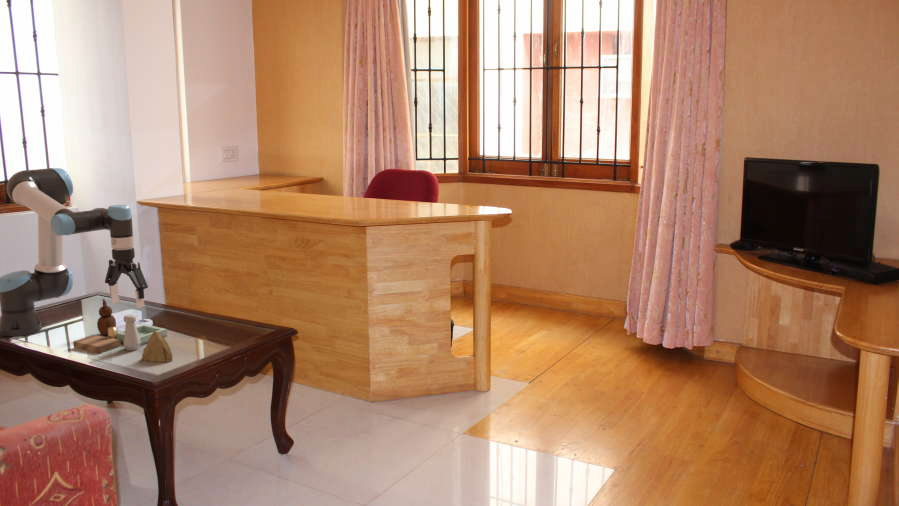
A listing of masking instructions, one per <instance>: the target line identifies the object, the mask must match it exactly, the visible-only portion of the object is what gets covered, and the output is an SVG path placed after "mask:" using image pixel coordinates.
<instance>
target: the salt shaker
mask: <svg viewBox="0 0 899 506" xmlns="http://www.w3.org/2000/svg"><path fill="white" fill-rule="evenodd" d="M123 321H124V323H125V328H124V330H125V335H124V342H123V346H124V347H125V350H126V351H137V350H138V349H139V348H140V343H141V341H140V338H139V334H138V331H137V325H136V321H137V316H136V315H135V314H134V313H133V314H130V313H129V314H125V315H124V317H123Z"/></svg>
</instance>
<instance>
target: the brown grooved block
mask: <svg viewBox="0 0 899 506" xmlns="http://www.w3.org/2000/svg"><path fill="white" fill-rule="evenodd" d="M121 345H122V342H120V340H118V339H113V338H108V336H103V335H96V334H92V335H89V336H86V337H83V338H80V339H77V340H74V341H73V349H75V348H76V349H75V350H81V351H86V352H92V353H96V354H103V353H107V352H109V351H112V350H114V349H117V348H119V347H122V346H121Z"/></svg>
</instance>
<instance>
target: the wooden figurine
mask: <svg viewBox="0 0 899 506" xmlns="http://www.w3.org/2000/svg"><path fill="white" fill-rule="evenodd" d="M98 314H99V315H98V316H100V317H99V318H98V319H97V323H96V325H97V326H96V327H97V330H98V332H99V333H100V336H103V337H108V328H109V327H116V328H117V322H116V321H117V319H115V318H116V317H115V316H114V315H112V314H113V310H112V307H111V306H108V304H107V301H106V299H105V298H102V306H100V308H99V309H98Z"/></svg>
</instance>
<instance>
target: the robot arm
mask: <svg viewBox="0 0 899 506" xmlns="http://www.w3.org/2000/svg"><path fill="white" fill-rule="evenodd" d="M6 192H7V195H8V197H9V199H10V200H12V202H14V203H16V204H17V205H19V206H23V207H26V208H28V209H29V210H31V211H32V212H34V213H35V214H37V230H38V231H37V237H38V239H37V240H38V241H37V242H38V243H37V244H38V246H37V247H38V252H37V253H38V263H36V264H35V265H34V271H33V272H31V271H29V270H16V271H11V272H9V273H8V272H7V273H6V274H3V275H1V276H0V313H1V314H0V336H3V337H18V336H19V337H20V336H26V335H30V334H33V333H34V334H35V333H37V332H39V331H41V330H42V329H43V327H42V321H41V320H40V317H39V315H38V314H37V311H36V309H35V303H37V302H41V301H47V300H52V299H57V298H60V297H64V296H67V295H68V294H69V293H70V292H71V291H72V288H73V285H74V276H72V275H73V273H72V271H71V270H70V269H69V268H68V267H67V265H66V264H65V263H64V262H63V236H71V235H77V234H83V233H90V232H97V231H103V230H104V231H105V230H106V231H109V235H110V245H111V248H112V250H111V256H112V258H111V259H109V260H108V268H107V272H106V275H105V278H104V279H105V280H104V283H105V284H108V287H109V291H110V297H111V304H117V303H120V294H119V284H118V281H119V279H120V278H121V275H122V274H124V275H126V276H127V277H128V278H129V280H130V281H131V283H132V284H133V286H134V288H135V292H134V293H135V304H136V309H140V308H143V307H145V292H144V291H145V290H146V289H148V288H149V285H148V283H147V280H146V278H145V275H144V273H143V271H142V269H141V264H140V262H139V261H137V262H134V258H135V256H136V254H135V252H136V251H135V248H134V247H135V242H134V234H133V233H134V232H133V219H132V218H133V215H132V212H131V211H132V210H131V206H130V205H128V204H114V205H109V206H108V208H105V207H94V208H93V209H90V210H84V211H75V212H74V211H72V210H70V208H68V207H67V206H66V205H67V201H68V200H67V199H68V198H70V197H71V196H72V195H73V193H74V184H73V181H72V179H71V176H70V175H69V173H68V172H67V170H65V169H63V168H61V167H59V168H57V167H55V168H54V167H51V168H50V167H49V168H48V167H47V168H40V169H39V168H38V169H25V170H20V171H18V172H15V173H14V174H13V175H12V176H10V178H9V179H8V181H7V183H6Z"/></svg>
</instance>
